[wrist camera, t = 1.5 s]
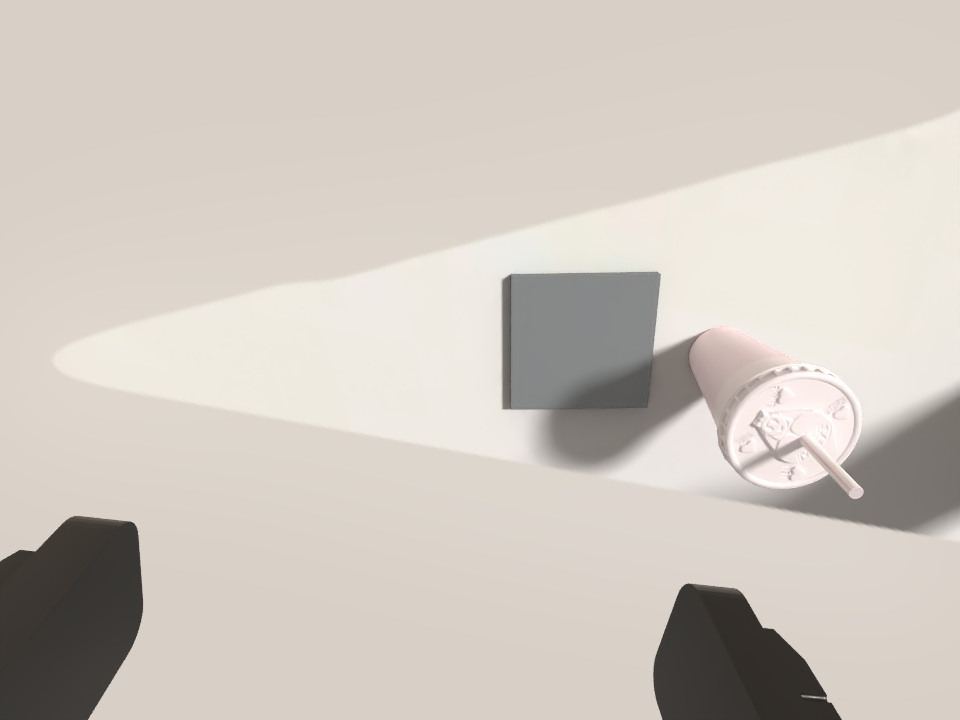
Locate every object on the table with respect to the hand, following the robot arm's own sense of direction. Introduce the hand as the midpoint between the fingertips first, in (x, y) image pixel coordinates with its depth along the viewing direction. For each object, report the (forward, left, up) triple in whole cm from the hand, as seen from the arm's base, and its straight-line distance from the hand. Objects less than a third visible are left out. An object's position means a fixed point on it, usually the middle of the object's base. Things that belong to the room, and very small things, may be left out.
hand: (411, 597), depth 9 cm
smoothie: (-15, +8, -28) cm, 33 cm away
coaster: (-7, +7, -27) cm, 29 cm away
